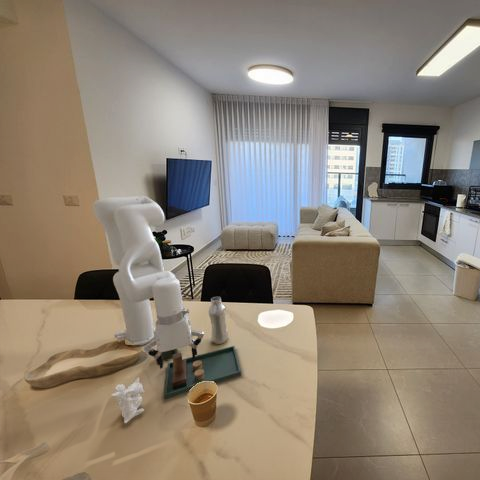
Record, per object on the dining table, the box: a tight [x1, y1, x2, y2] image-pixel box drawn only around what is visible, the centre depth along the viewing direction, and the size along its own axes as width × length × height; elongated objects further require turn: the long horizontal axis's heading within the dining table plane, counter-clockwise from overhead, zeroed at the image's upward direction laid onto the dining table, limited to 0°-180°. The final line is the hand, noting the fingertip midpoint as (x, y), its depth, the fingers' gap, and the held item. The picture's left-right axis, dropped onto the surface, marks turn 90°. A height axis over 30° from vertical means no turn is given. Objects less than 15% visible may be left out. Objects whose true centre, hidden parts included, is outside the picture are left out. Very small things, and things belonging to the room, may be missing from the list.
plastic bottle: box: [208, 296, 229, 345], centre depth 107 cm, size 6×7×20 cm
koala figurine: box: [110, 376, 145, 424], centre depth 75 cm, size 8×7×12 cm
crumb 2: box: [194, 369, 204, 380], centre depth 90 cm, size 3×3×2 cm
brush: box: [171, 352, 187, 390], centre depth 89 cm, size 4×10×9 cm, turn 26°
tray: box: [164, 345, 242, 400], centre depth 93 cm, size 23×15×2 cm, turn 116°
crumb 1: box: [193, 360, 202, 371], centre depth 94 cm, size 3×3×2 cm
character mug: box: [150, 325, 179, 361], centre depth 99 cm, size 11×7×13 cm, turn 155°
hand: (178, 361), depth 88 cm, fingers open, 9 cm apart
